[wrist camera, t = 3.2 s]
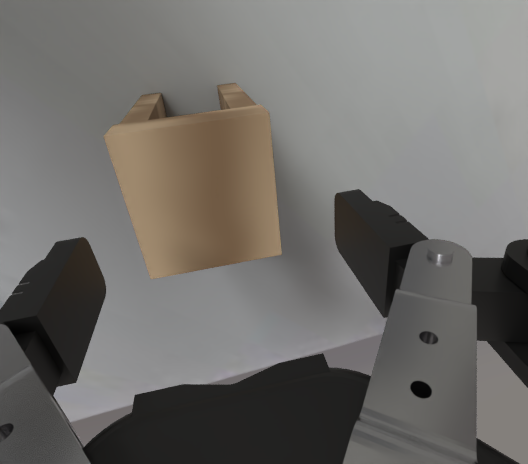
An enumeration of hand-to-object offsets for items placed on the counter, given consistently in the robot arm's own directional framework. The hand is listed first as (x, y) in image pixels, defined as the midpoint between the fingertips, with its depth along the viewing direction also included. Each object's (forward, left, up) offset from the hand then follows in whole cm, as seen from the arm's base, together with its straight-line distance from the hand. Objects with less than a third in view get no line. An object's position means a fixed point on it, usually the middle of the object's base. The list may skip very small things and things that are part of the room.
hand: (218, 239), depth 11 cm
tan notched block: (0, 0, -15) cm, 15 cm away
